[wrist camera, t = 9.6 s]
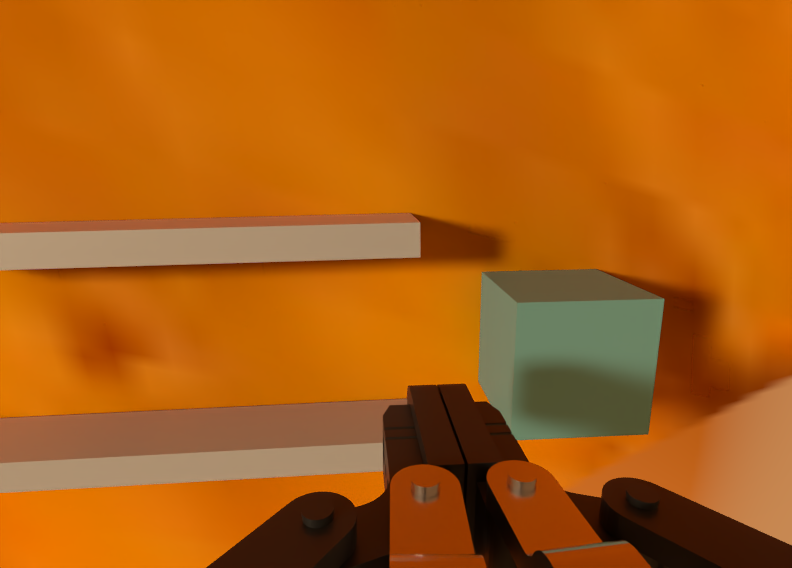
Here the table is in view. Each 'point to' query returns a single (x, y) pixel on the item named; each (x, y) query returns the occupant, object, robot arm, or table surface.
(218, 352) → the table surface
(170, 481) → the grey channel
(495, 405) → the teal block
